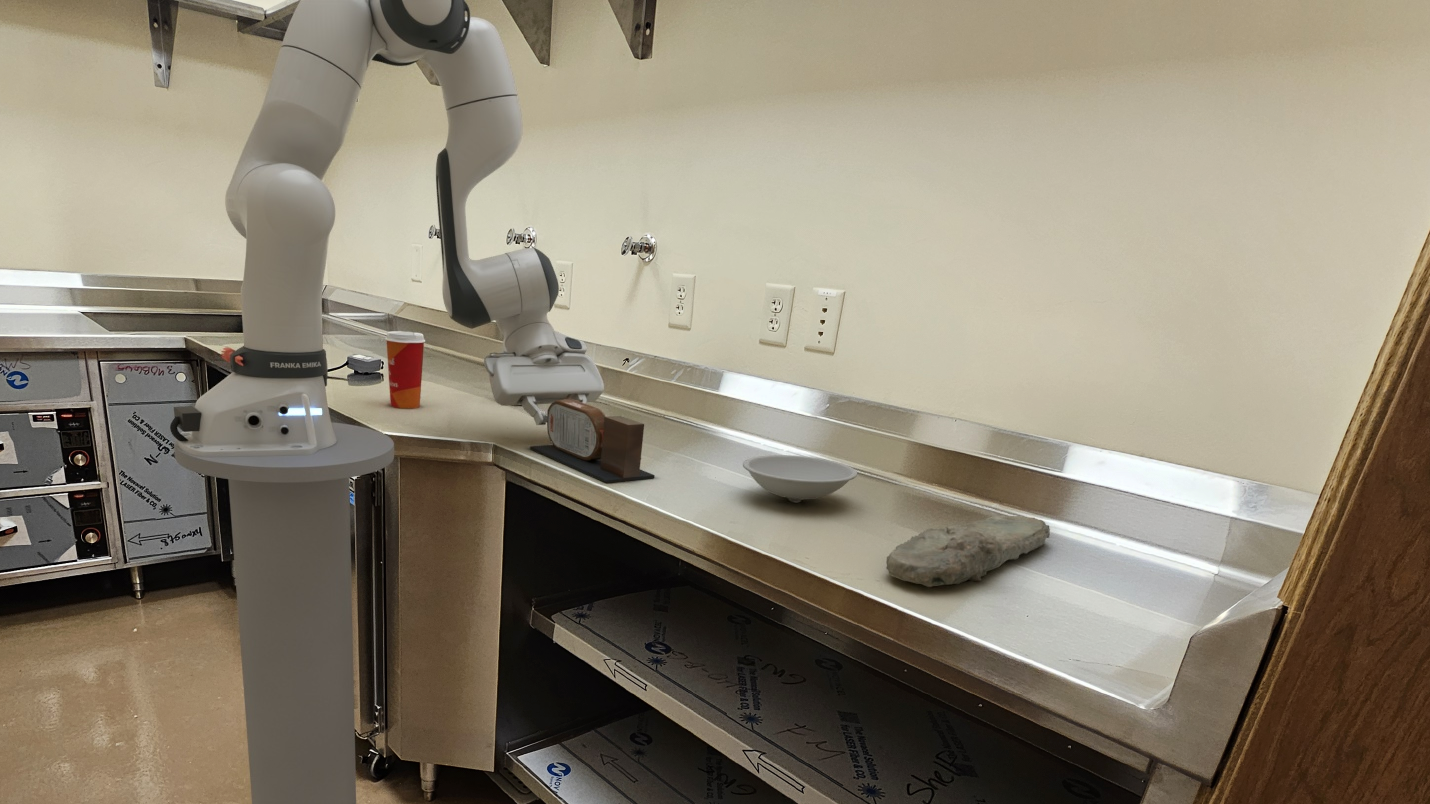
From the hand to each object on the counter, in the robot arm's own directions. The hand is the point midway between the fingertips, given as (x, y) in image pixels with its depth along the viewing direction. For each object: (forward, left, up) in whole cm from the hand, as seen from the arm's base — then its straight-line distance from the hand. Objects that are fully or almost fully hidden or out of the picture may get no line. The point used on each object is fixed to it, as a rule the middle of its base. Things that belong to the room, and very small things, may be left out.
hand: (562, 422), depth 138 cm
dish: (+17, -36, -5) cm, 41 cm away
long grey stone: (+19, -63, -5) cm, 66 cm away
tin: (0, -5, -5) cm, 7 cm away
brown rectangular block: (0, -16, -4) cm, 17 cm away
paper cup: (-10, +42, -5) cm, 43 cm away
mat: (0, -8, -5) cm, 10 cm away
